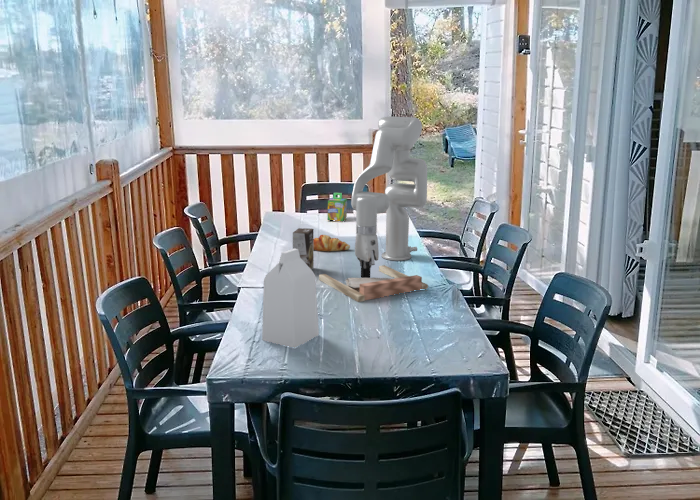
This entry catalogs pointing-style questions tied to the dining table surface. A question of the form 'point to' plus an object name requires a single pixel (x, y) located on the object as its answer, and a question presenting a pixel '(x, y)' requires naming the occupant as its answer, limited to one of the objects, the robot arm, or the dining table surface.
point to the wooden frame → (378, 285)
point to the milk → (290, 302)
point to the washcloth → (361, 282)
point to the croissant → (329, 244)
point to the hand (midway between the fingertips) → (365, 277)
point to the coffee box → (304, 245)
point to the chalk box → (337, 208)
